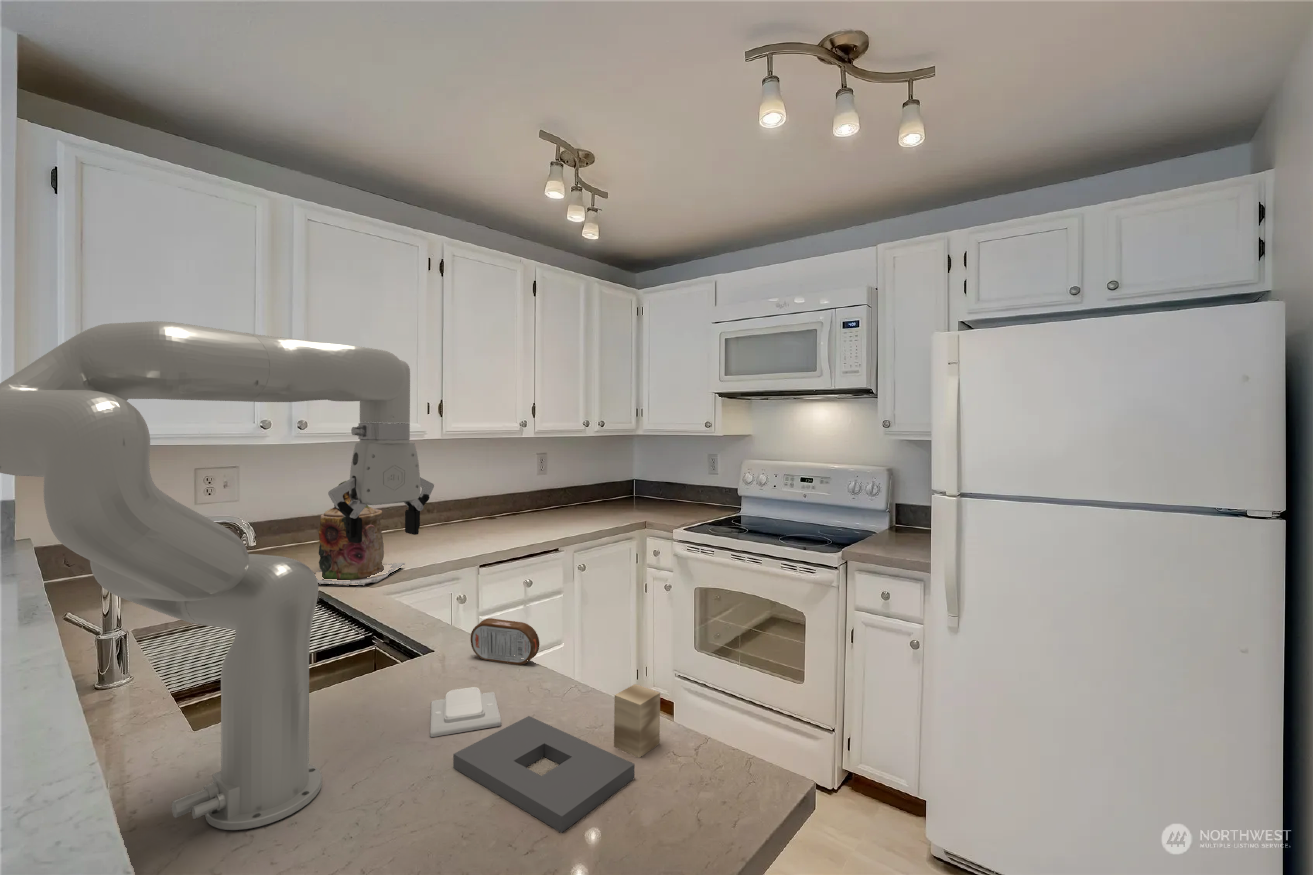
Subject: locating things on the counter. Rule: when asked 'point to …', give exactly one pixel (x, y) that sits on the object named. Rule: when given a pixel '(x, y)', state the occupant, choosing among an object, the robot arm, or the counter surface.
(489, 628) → the tin
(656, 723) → the beige rectangular block
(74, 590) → the counter surface
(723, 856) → the counter surface
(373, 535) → the cookie jar
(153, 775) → the counter surface
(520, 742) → the grey plate with hole
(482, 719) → the light switch
